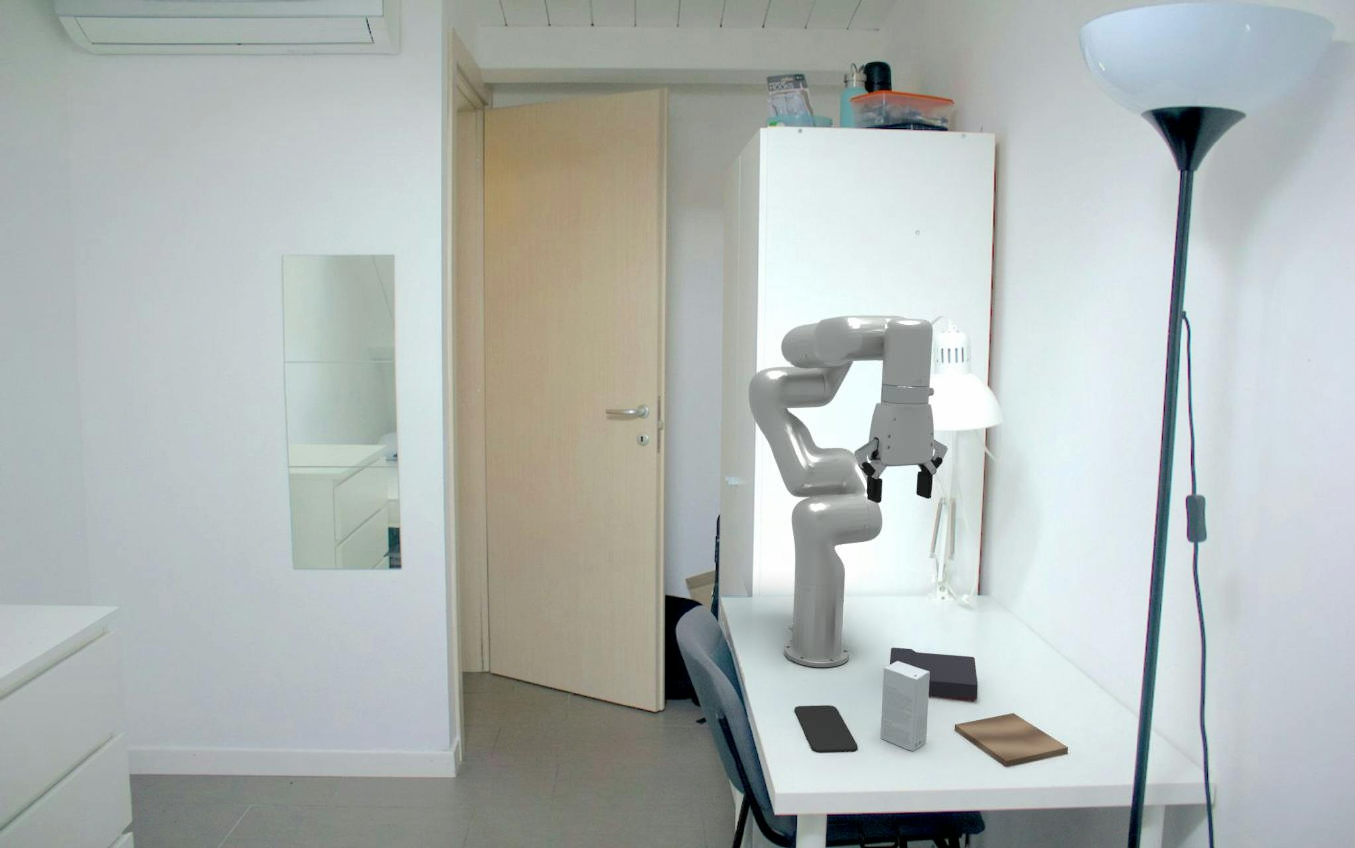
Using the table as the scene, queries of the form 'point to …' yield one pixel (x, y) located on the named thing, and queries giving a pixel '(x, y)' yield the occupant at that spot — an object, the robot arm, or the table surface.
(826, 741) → the phone
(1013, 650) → the table surface
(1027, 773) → the table surface
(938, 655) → the dark gray stepped block
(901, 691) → the skincare box
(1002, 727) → the walnut pad
